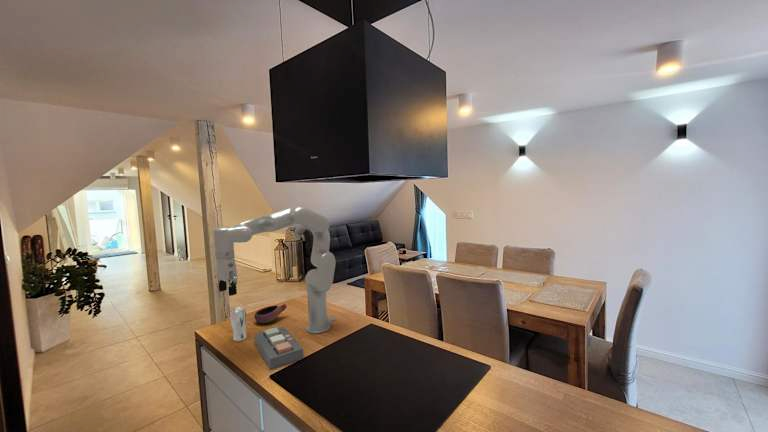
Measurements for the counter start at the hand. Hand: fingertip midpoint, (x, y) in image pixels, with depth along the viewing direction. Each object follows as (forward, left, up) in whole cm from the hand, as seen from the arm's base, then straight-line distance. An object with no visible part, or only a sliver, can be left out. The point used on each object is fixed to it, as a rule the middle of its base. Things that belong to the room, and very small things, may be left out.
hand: (227, 292), depth 141 cm
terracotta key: (-18, +19, -26) cm, 36 cm away
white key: (-18, +10, -26) cm, 33 cm away
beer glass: (-6, -14, -29) cm, 33 cm away
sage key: (-18, +1, -26) cm, 31 cm away
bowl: (-24, -27, -29) cm, 46 cm away
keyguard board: (-18, +10, -28) cm, 35 cm away
